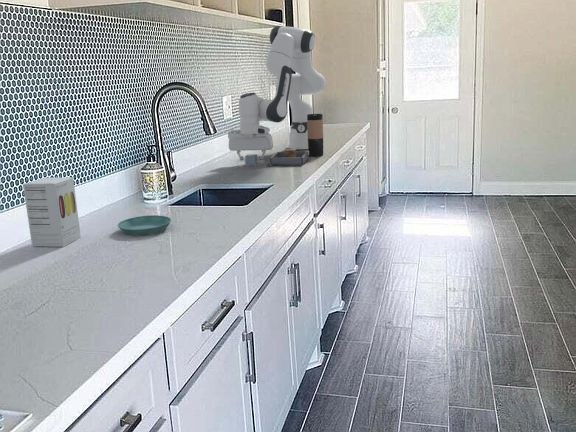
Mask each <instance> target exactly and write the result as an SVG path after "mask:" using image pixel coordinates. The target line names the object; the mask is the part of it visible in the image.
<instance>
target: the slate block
mask: <svg viewBox="0 0 576 432" xmlns="http://www.w3.org/2000/svg"><path fill="white" fill-rule="evenodd" d="M244 159H245V166H257V164H258V154H256V153H253V154H251V153H249V154H246V155H245V157H244Z"/></svg>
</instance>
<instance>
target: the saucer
mask: <svg viewBox="0 0 576 432" xmlns="http://www.w3.org/2000/svg"><path fill="white" fill-rule="evenodd" d="M171 221H172V218H171V217H168V216H166V215H159V214H158V215H152V214H151V215H140V216H134V217H129V218H126V219H124V220H121V221H120V222H118V223H117V224H116V225H117V228H119V230H120V231H122V232H123V233H124V234H126V235H128V236H149V235H155V234H159V233H162V232H164V231H165V230H166V229H167V228H168V227H169V226H170V224H171Z"/></svg>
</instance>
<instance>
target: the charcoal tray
mask: <svg viewBox="0 0 576 432" xmlns="http://www.w3.org/2000/svg"><path fill="white" fill-rule="evenodd" d="M308 160H309V152H308V150H307V151H303V150H302V151H296V157H293V158H285V151H276V152H275V153H274V154H273V155H271V156H270V157H269V166H270V167H278V166H279V167H281V166H283V167H284V166H285V167H286V166H289V165H298V166H304V165H305V164H306V162H307V161H308ZM289 167H290V166H289Z"/></svg>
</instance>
